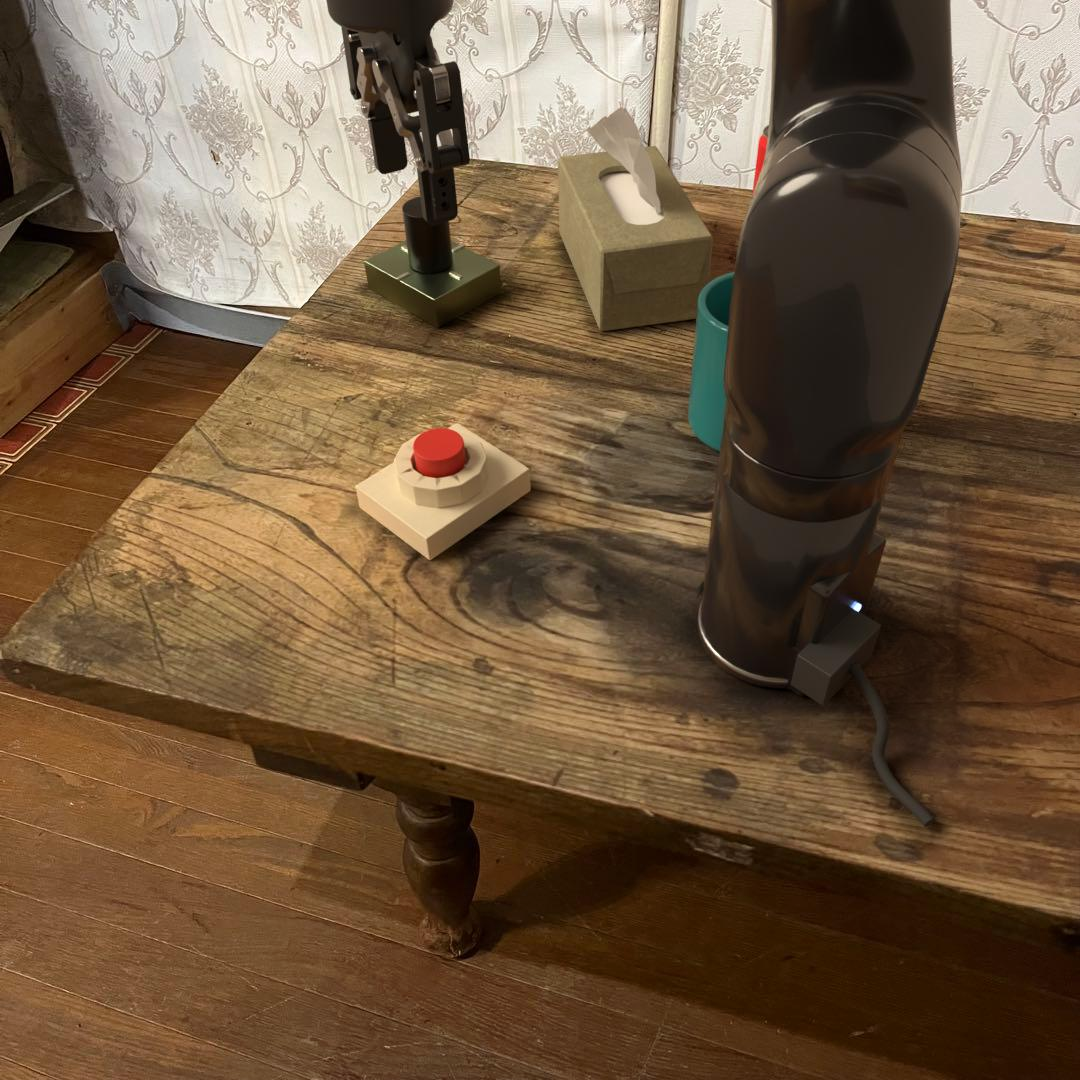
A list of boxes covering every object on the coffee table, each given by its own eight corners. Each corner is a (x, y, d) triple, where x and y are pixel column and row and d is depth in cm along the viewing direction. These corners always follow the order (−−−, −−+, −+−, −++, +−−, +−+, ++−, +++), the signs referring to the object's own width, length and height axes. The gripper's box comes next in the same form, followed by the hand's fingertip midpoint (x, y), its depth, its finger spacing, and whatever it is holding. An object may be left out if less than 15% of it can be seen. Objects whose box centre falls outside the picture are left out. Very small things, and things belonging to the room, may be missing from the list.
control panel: (502, 292, 97) (500, 262, 95) (436, 329, 93) (433, 298, 91) (432, 256, 102) (429, 226, 100) (367, 289, 98) (362, 259, 96)
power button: (476, 461, 74) (474, 442, 73) (438, 486, 73) (435, 467, 71) (443, 439, 76) (440, 421, 75) (405, 463, 74) (402, 444, 73)
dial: (427, 278, 93) (419, 218, 89) (400, 262, 95) (392, 203, 91) (461, 262, 95) (456, 203, 91) (435, 246, 97) (428, 188, 93)
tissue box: (558, 232, 105) (555, 71, 93) (652, 220, 106) (659, 60, 95) (601, 334, 91) (603, 162, 80) (707, 320, 93) (724, 148, 81)
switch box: (531, 490, 77) (529, 449, 74) (429, 561, 72) (423, 520, 70) (459, 444, 81) (455, 403, 79) (359, 507, 77) (350, 466, 74)
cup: (702, 491, 77) (715, 366, 69) (679, 393, 85) (689, 271, 77) (823, 484, 77) (851, 359, 69) (788, 387, 85) (809, 265, 77)
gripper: (279, -91, 62) (328, 168, 74) (363, -30, 53) (405, 255, 65) (394, -111, 65) (425, 143, 76) (494, -56, 55) (512, 223, 67)
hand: (415, 194), depth 70 cm, fingers open, 8 cm apart
